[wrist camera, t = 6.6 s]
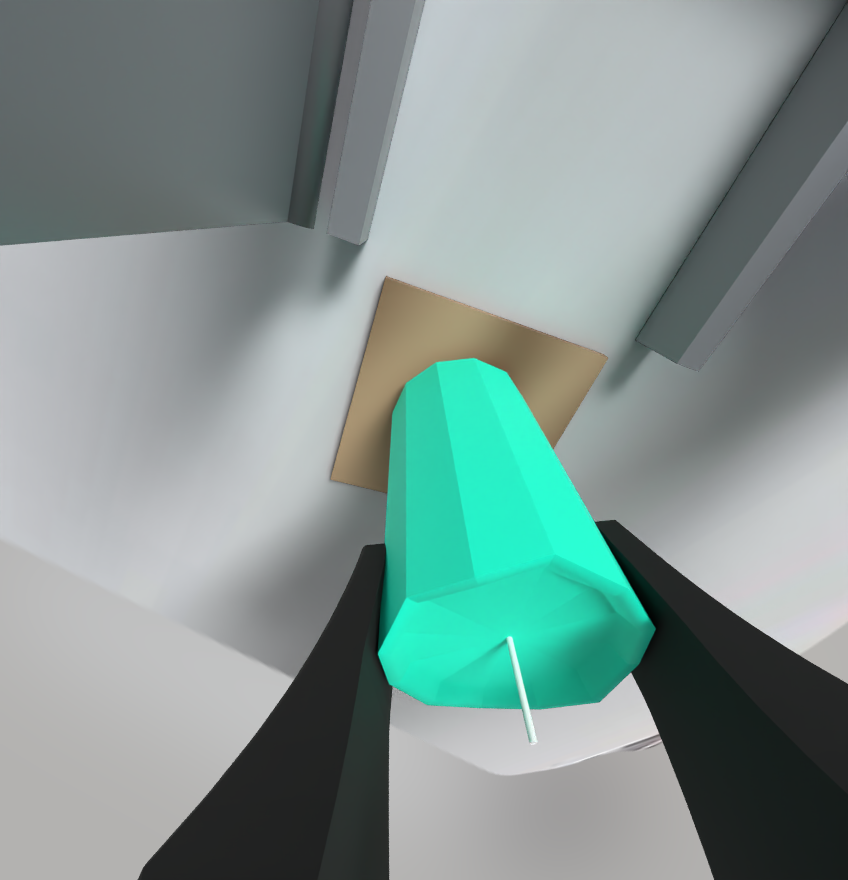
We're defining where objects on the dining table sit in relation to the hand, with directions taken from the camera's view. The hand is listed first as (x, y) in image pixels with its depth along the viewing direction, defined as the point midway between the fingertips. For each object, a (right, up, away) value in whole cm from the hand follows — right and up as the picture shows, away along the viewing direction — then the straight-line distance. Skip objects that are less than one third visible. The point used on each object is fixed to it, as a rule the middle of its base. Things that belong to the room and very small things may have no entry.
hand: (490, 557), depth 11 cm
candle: (0, +4, +6) cm, 8 cm away
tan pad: (0, +4, +7) cm, 9 cm away
